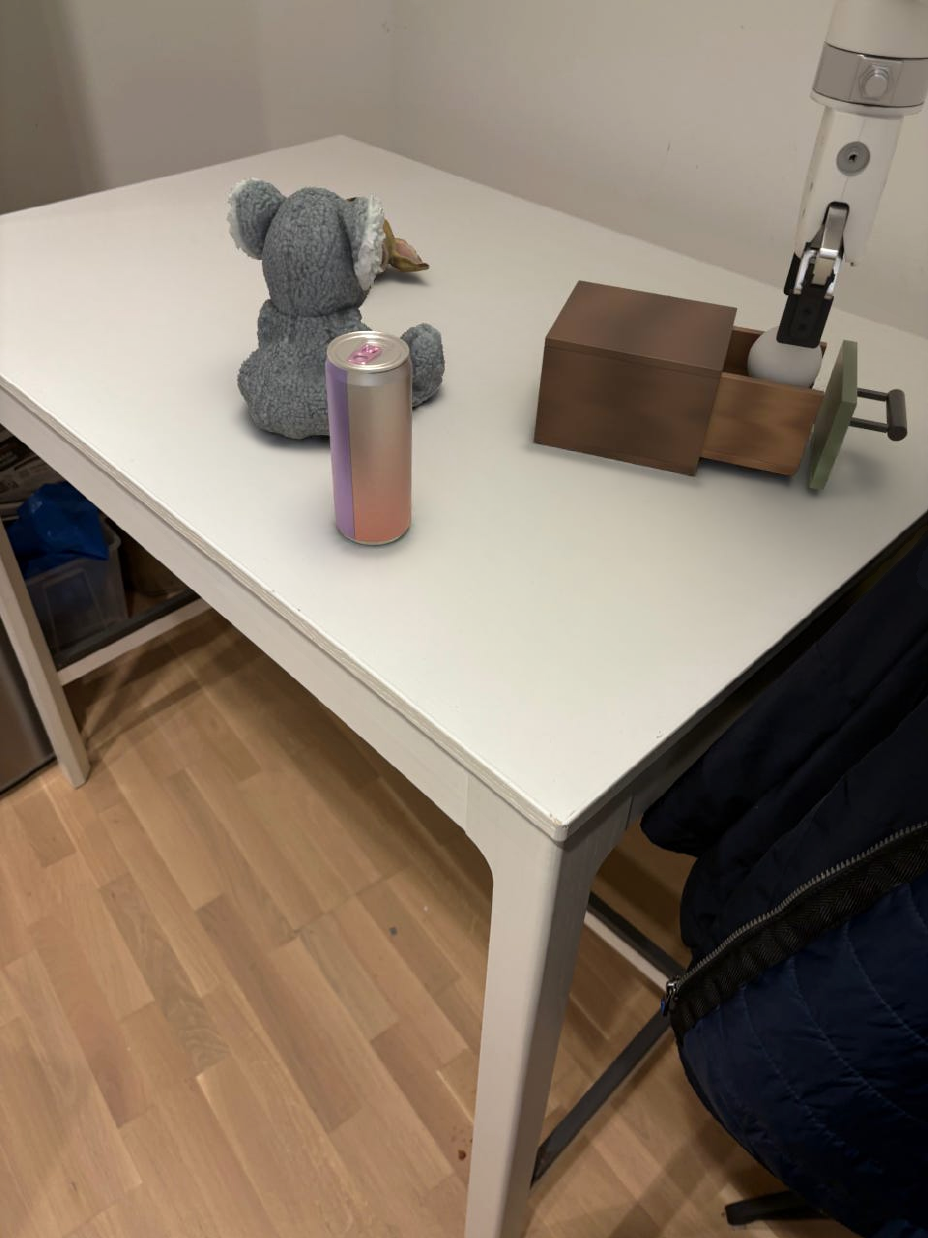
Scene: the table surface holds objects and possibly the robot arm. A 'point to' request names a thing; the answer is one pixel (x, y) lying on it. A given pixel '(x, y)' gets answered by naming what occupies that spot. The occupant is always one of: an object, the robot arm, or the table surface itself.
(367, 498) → the beverage can
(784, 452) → the drawer
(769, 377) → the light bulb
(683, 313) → the cabinet
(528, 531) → the table surface
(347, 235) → the koala plush
